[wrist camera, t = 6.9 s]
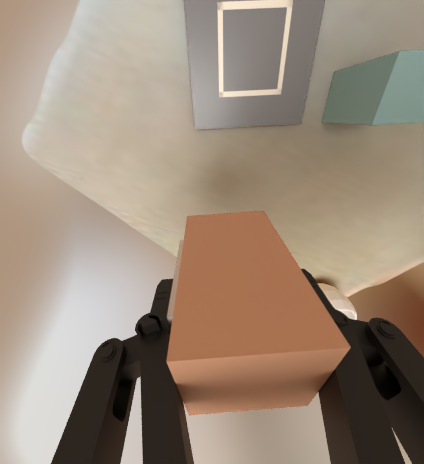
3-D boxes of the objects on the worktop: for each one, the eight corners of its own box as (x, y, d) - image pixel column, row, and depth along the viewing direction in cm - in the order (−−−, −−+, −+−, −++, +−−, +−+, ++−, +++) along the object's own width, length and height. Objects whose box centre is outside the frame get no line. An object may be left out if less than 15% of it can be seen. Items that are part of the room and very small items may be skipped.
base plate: (327, -48, 20) (336, -59, 18) (296, 123, 28) (301, 123, 27) (181, -42, 19) (179, -53, 18) (195, 128, 28) (194, 129, 27)
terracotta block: (263, 210, 14) (350, 347, 6) (257, 266, 18) (307, 405, 9) (187, 216, 14) (166, 361, 6) (195, 271, 17) (189, 415, 9)
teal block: (376, 70, 25) (462, 47, 17) (359, 120, 29) (424, 122, 20) (334, 72, 25) (399, 50, 17) (321, 122, 29) (371, 125, 20)
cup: (308, 308, 56) (327, 341, 48) (280, 295, 52) (295, 329, 43) (343, 285, 50) (370, 317, 42) (315, 268, 46) (339, 301, 38)
